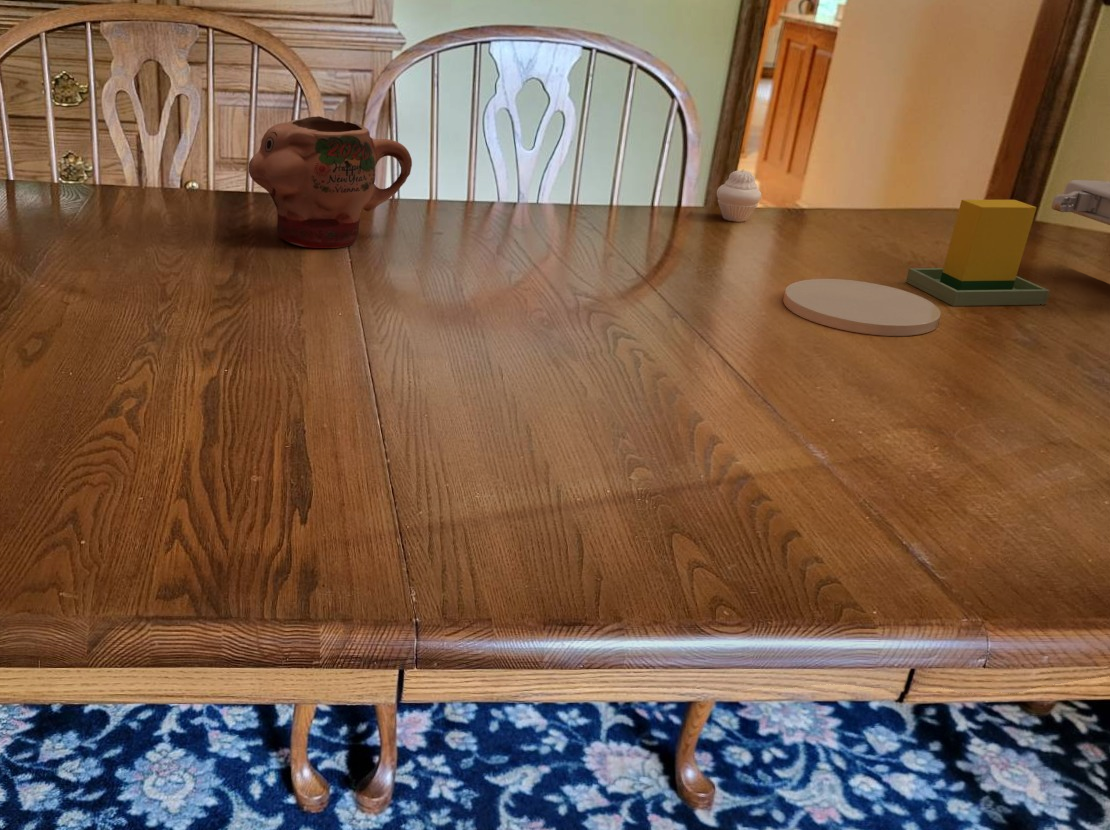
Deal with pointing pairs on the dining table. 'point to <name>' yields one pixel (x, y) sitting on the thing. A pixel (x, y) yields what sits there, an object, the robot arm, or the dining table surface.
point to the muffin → (738, 196)
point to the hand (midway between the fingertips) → (1085, 213)
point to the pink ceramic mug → (323, 178)
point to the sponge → (987, 244)
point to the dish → (976, 291)
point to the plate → (861, 307)
